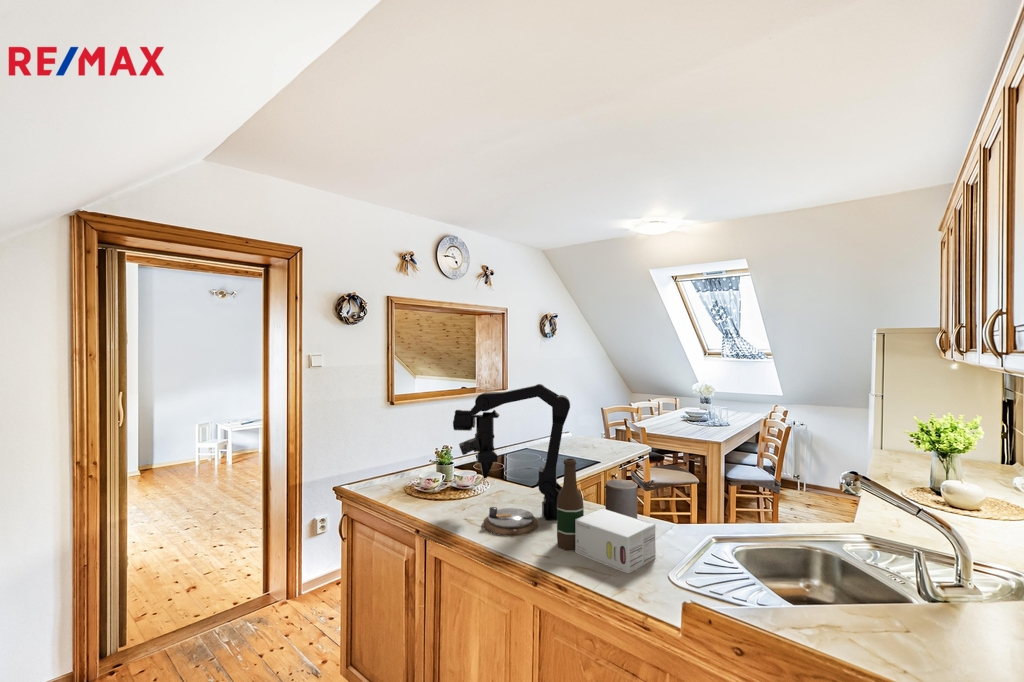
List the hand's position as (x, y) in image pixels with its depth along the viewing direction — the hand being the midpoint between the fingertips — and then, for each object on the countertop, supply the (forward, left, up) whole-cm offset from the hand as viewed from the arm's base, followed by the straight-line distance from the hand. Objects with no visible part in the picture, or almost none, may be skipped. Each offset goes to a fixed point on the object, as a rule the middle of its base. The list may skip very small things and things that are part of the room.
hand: (485, 478), depth 161 cm
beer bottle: (-21, +29, -12) cm, 38 cm away
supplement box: (-31, +37, -12) cm, 50 cm away
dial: (-7, +11, -10) cm, 17 cm away
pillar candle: (-40, +19, -12) cm, 46 cm away
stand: (-7, +11, -12) cm, 18 cm away
